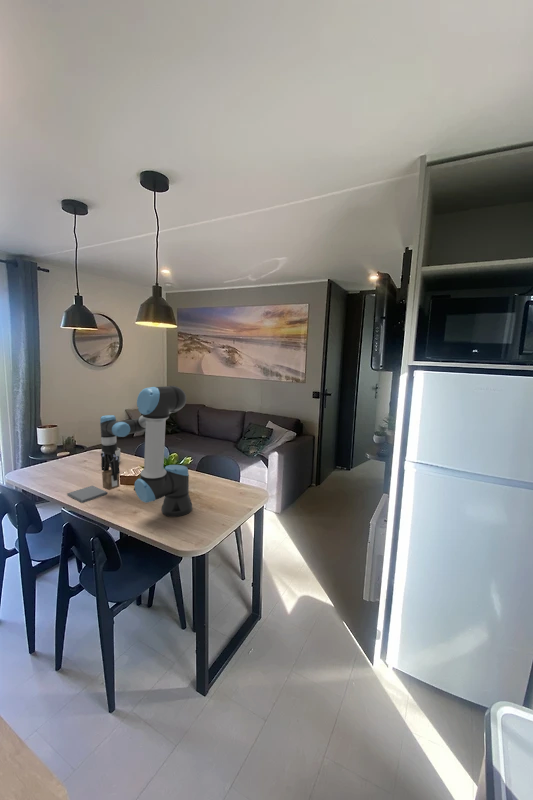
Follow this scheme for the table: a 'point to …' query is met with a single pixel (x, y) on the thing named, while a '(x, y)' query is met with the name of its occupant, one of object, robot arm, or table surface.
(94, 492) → the slate board
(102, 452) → the planter
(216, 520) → the table surface
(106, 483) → the walnut block
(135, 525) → the table surface
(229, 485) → the table surface
